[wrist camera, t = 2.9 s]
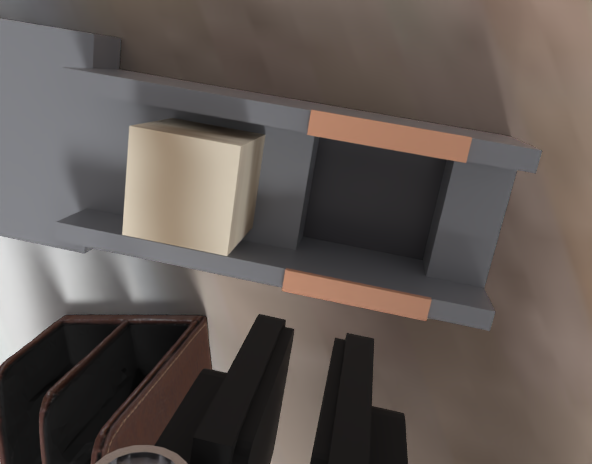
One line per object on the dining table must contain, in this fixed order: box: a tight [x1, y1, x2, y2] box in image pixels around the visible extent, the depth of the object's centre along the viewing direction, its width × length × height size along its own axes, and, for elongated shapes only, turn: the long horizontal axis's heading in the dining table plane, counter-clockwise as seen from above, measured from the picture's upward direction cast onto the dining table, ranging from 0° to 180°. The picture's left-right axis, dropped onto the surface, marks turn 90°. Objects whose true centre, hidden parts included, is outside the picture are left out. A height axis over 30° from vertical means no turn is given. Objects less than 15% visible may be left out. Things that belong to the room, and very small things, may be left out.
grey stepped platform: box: [0, 18, 542, 331], centre depth 29 cm, size 34×12×6 cm, turn 81°
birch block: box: [122, 118, 265, 256], centre depth 26 cm, size 5×5×5 cm
